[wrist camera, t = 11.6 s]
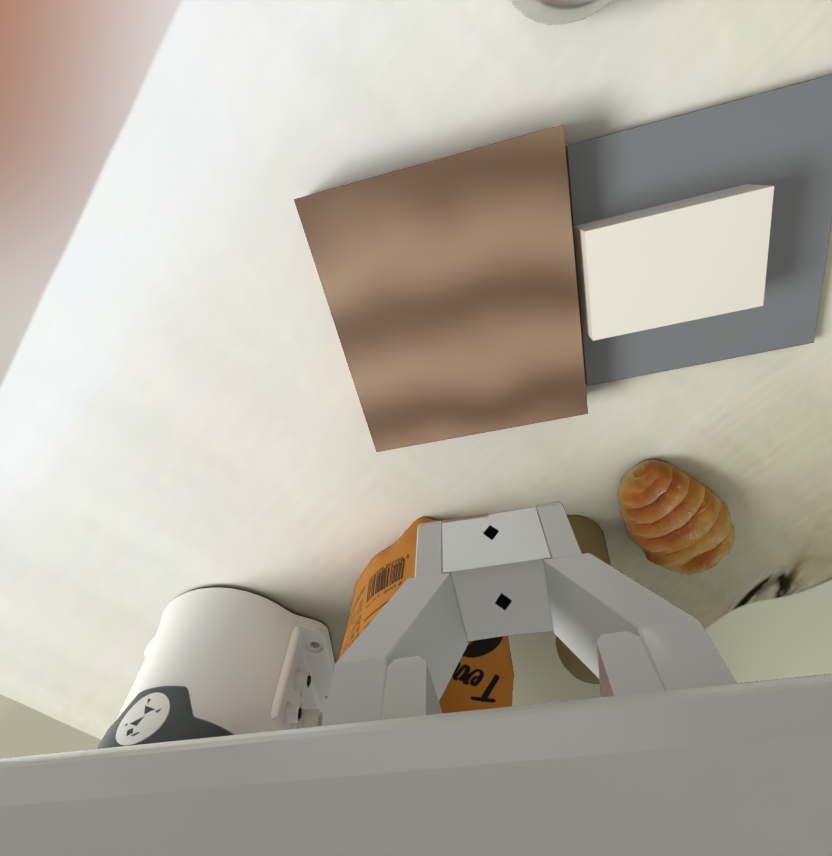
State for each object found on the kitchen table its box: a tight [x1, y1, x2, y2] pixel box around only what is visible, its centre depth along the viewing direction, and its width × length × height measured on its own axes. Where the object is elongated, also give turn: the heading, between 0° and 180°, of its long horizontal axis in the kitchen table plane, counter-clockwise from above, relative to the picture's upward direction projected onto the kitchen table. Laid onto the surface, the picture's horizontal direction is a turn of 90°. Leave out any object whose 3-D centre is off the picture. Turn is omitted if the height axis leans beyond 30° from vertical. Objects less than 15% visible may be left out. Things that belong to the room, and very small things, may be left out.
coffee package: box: [339, 517, 514, 713], centre depth 32 cm, size 10×12×22 cm
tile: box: [574, 184, 774, 341], centre depth 27 cm, size 6×9×2 cm, turn 104°
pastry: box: [617, 459, 734, 575], centre depth 35 cm, size 9×7×4 cm
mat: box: [565, 75, 832, 386], centre depth 28 cm, size 14×14×1 cm
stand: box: [294, 125, 588, 452], centre depth 29 cm, size 16×14×2 cm
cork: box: [556, 515, 611, 684], centre depth 34 cm, size 6×6×11 cm
